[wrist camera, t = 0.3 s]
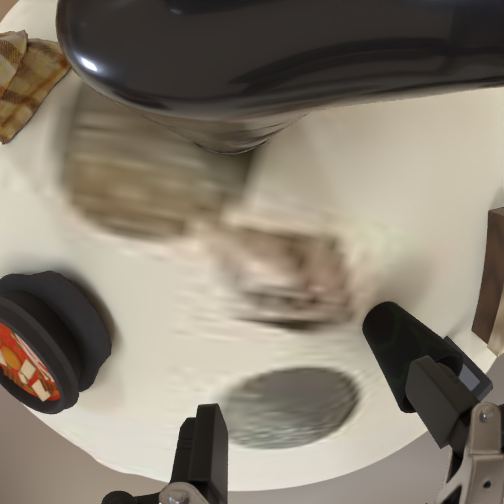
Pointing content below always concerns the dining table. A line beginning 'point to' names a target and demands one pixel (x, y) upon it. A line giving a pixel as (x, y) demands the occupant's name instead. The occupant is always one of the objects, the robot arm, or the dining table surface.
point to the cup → (404, 347)
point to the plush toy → (26, 77)
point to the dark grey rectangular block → (472, 375)
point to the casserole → (48, 341)
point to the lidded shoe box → (492, 287)
